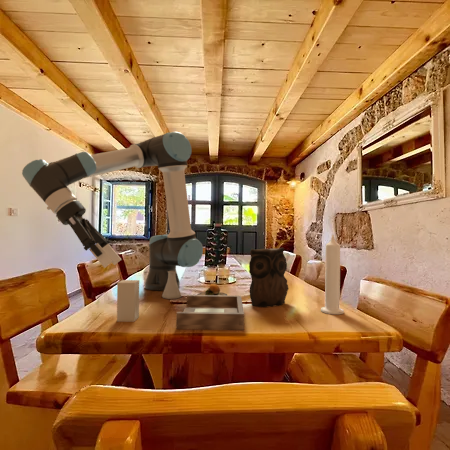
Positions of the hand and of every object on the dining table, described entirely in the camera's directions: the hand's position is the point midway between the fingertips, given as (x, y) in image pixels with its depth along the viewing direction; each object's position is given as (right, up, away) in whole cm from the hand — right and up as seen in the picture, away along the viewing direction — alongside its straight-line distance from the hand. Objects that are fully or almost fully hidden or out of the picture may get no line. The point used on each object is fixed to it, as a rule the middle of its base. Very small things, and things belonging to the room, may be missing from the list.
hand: (113, 263), depth 92 cm
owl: (+48, -17, +21) cm, 55 cm away
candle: (+68, -17, +10) cm, 70 cm away
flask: (+12, -17, +28) cm, 35 cm away
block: (+4, -16, -1) cm, 17 cm away
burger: (+28, -17, +26) cm, 42 cm away
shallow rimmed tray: (+29, -16, +2) cm, 33 cm away
